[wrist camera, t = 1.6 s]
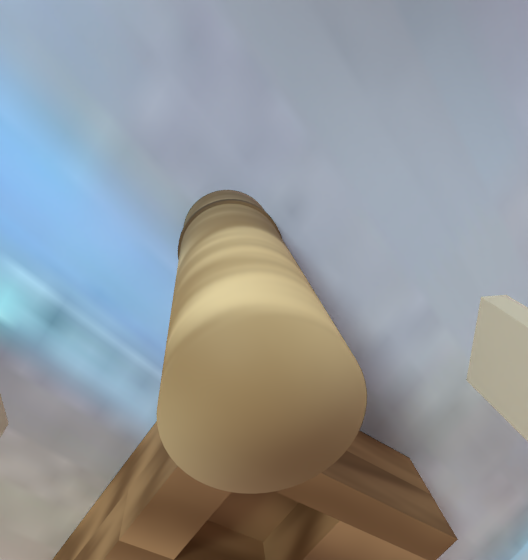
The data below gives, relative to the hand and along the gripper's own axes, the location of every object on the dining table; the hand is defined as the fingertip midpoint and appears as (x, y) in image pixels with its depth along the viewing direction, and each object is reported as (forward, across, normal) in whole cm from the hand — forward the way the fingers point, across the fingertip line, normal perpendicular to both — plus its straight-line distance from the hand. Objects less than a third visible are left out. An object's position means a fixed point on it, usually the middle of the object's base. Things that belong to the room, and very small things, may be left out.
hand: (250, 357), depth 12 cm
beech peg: (+11, 0, 0) cm, 11 cm away
